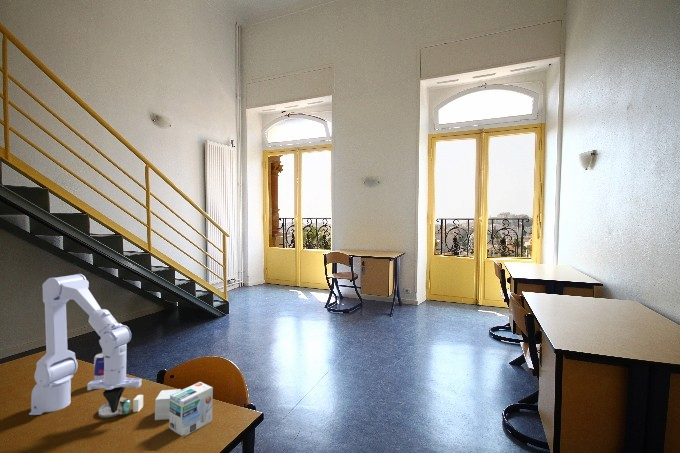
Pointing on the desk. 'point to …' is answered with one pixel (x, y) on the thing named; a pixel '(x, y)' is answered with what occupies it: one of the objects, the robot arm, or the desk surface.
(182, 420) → the light bulb box
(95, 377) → the energy drink
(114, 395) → the robot arm
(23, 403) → the desk surface
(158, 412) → the product box
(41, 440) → the desk surface
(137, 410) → the white rectangular box
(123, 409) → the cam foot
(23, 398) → the desk surface
